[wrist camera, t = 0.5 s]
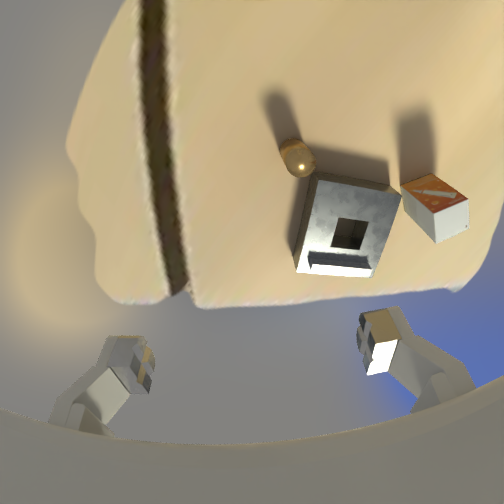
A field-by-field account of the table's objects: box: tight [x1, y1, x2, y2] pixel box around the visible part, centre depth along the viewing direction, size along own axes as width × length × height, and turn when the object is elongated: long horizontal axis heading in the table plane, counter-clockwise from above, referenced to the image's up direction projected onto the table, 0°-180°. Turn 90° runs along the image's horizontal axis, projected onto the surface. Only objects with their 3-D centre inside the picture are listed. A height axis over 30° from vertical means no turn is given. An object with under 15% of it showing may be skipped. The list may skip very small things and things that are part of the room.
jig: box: [293, 171, 402, 278], centre depth 52 cm, size 18×16×7 cm
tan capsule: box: [280, 138, 316, 177], centre depth 44 cm, size 4×4×8 cm
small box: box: [400, 174, 469, 244], centre depth 46 cm, size 8×6×13 cm
